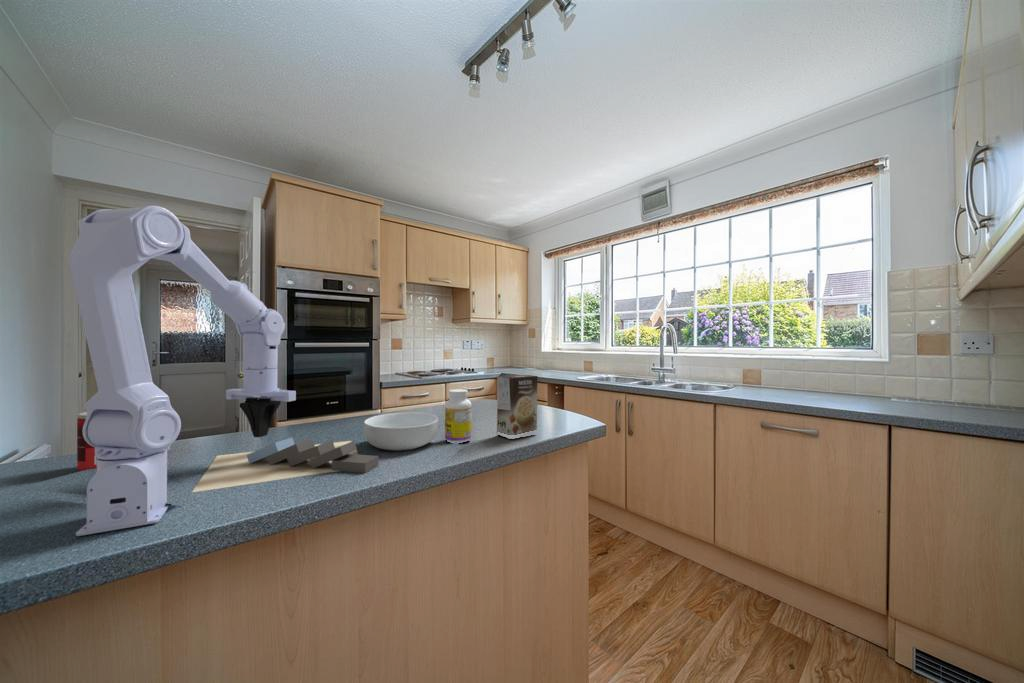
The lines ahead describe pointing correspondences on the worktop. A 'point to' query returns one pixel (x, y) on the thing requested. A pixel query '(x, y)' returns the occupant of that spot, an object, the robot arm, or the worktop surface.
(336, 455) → the tile
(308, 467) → the board
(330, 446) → the tile
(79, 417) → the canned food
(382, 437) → the cereal bowl
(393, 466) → the worktop surface
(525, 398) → the dessert mix box
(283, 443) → the tile blue
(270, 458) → the tile
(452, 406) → the supplement bottle
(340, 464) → the tile
